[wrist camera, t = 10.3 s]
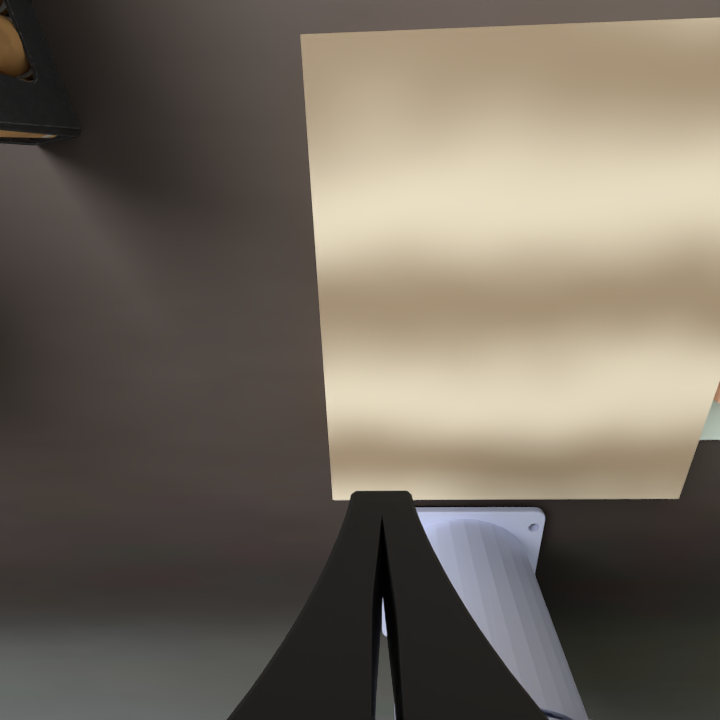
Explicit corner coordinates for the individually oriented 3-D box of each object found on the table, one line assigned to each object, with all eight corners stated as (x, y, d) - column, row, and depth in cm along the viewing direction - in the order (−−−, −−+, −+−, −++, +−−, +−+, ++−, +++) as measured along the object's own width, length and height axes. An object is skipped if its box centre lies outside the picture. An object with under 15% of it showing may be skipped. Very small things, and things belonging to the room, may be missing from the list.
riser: (639, 452, 21) (678, 498, 19) (337, 455, 22) (332, 499, 19) (759, 36, 14) (847, 12, 12) (313, 53, 15) (300, 34, 12)
